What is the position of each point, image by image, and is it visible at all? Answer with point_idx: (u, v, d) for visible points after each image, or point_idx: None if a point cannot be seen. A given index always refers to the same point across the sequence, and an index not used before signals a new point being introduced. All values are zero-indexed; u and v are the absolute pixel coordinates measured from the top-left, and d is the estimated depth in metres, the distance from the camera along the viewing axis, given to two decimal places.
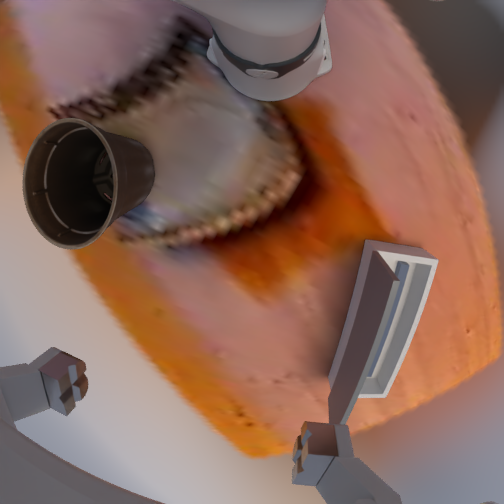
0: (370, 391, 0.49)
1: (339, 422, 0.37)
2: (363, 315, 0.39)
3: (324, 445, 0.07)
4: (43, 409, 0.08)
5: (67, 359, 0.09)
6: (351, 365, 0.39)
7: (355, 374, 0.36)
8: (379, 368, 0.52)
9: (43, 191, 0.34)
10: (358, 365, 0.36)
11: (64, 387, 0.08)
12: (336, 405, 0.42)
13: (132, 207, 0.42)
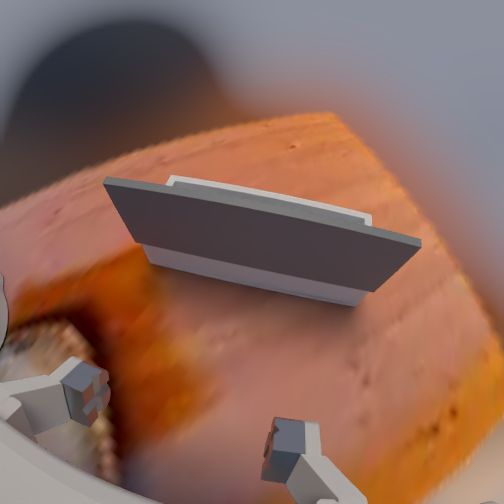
0: None
1: (365, 236, 0.23)
2: (197, 240, 0.30)
3: (291, 441, 0.08)
4: (64, 421, 0.08)
5: (89, 369, 0.09)
6: (270, 245, 0.28)
7: (264, 226, 0.25)
8: None
9: None
10: (247, 224, 0.26)
11: (87, 398, 0.08)
12: (356, 261, 0.27)
13: None
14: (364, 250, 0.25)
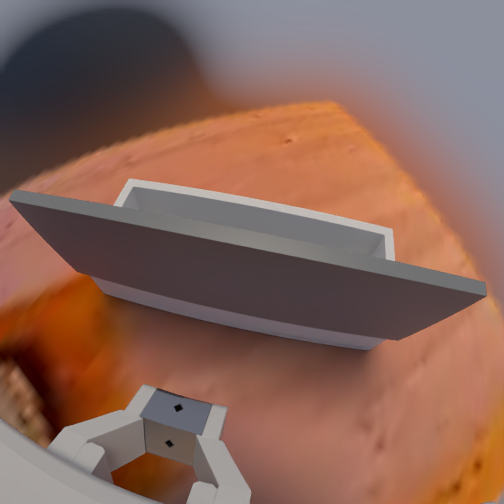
0: None
1: (409, 283, 0.13)
2: (146, 277, 0.20)
3: (191, 421, 0.08)
4: (139, 455, 0.07)
5: (168, 398, 0.08)
6: (252, 290, 0.18)
7: (239, 266, 0.15)
8: None
9: None
10: (211, 261, 0.15)
11: None
12: (384, 312, 0.17)
13: None
14: (401, 300, 0.15)
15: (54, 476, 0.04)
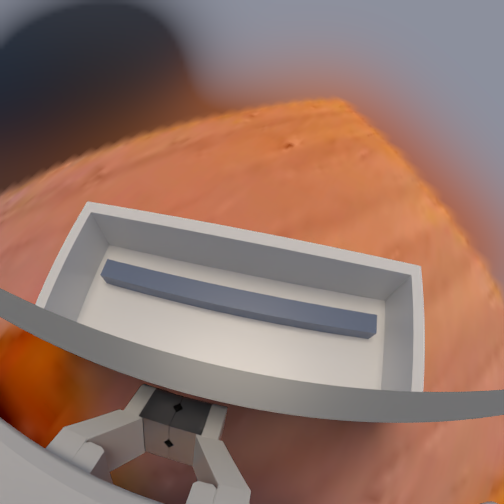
0: (408, 307, 0.20)
1: None
2: None
3: (190, 421, 0.08)
4: (138, 454, 0.07)
5: (168, 397, 0.08)
6: None
7: None
8: (360, 299, 0.25)
9: None
10: None
11: None
12: None
13: None
14: None
15: (54, 476, 0.04)
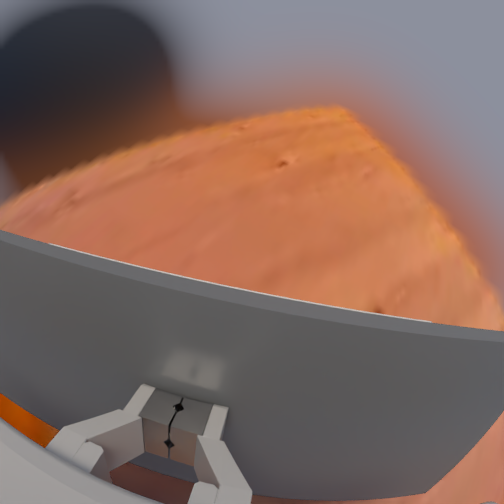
0: None
1: (463, 350, 0.07)
2: (61, 397, 0.11)
3: (192, 421, 0.08)
4: (137, 454, 0.08)
5: (167, 397, 0.09)
6: None
7: (198, 359, 0.09)
8: None
9: None
10: (153, 351, 0.09)
11: None
12: (420, 437, 0.09)
13: None
14: (448, 398, 0.08)
15: (54, 476, 0.04)
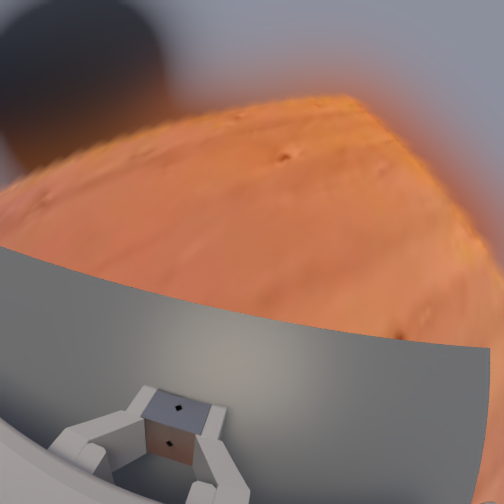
0: None
1: (411, 351, 0.11)
2: (38, 423, 0.09)
3: (190, 421, 0.08)
4: (140, 455, 0.07)
5: (169, 398, 0.08)
6: None
7: (208, 363, 0.11)
8: None
9: None
10: (170, 357, 0.11)
11: None
12: (415, 451, 0.09)
13: None
14: (421, 400, 0.10)
15: (54, 476, 0.04)
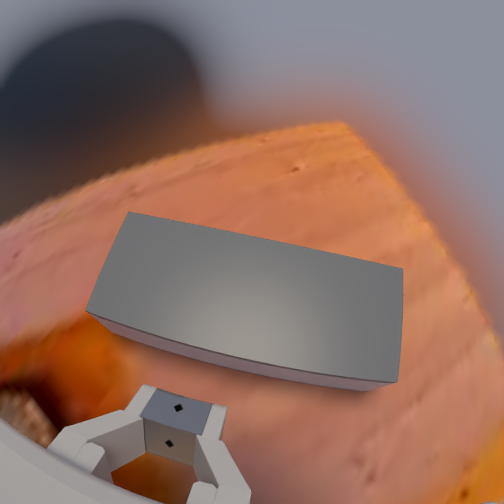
0: None
1: (355, 262, 0.27)
2: (179, 296, 0.25)
3: (191, 421, 0.08)
4: (139, 455, 0.07)
5: (168, 398, 0.08)
6: (268, 293, 0.26)
7: (266, 260, 0.27)
8: None
9: None
10: (249, 258, 0.27)
11: None
12: (360, 308, 0.25)
13: None
14: (361, 284, 0.26)
15: (54, 476, 0.04)
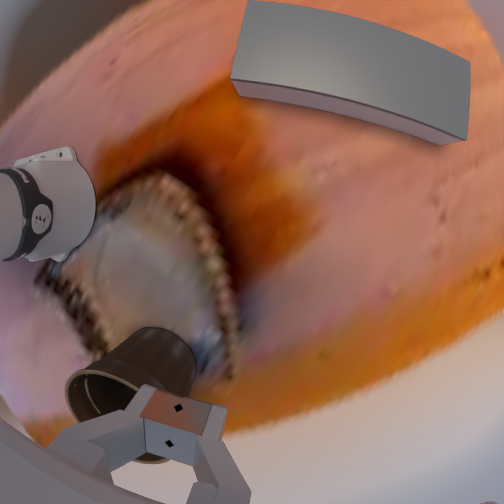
0: None
1: (436, 48, 0.24)
2: (312, 59, 0.27)
3: (191, 421, 0.08)
4: (139, 455, 0.07)
5: (168, 398, 0.08)
6: (378, 60, 0.26)
7: (373, 37, 0.25)
8: None
9: None
10: (361, 34, 0.25)
11: None
12: (441, 81, 0.25)
13: (179, 360, 0.39)
14: (441, 64, 0.25)
15: (54, 476, 0.04)
